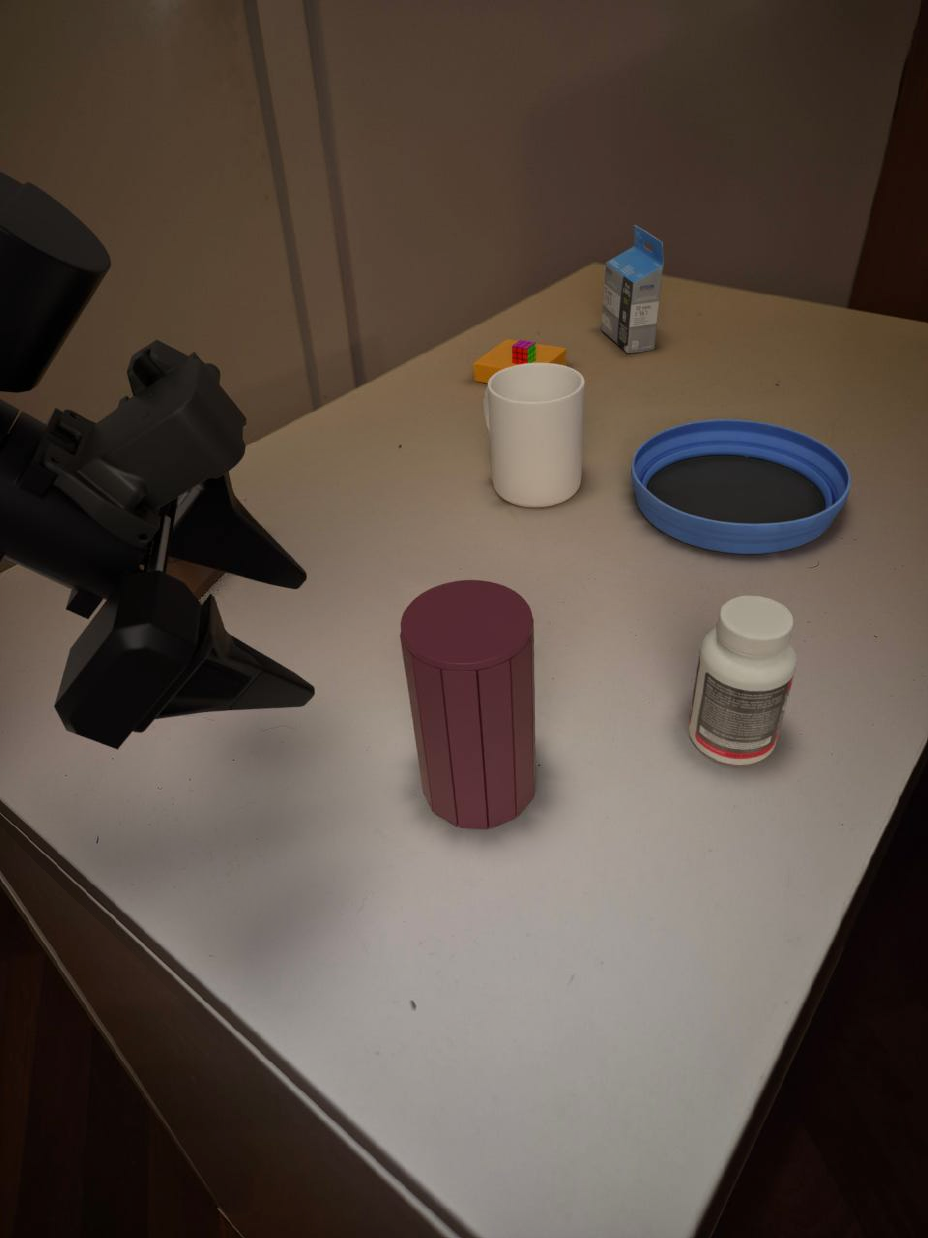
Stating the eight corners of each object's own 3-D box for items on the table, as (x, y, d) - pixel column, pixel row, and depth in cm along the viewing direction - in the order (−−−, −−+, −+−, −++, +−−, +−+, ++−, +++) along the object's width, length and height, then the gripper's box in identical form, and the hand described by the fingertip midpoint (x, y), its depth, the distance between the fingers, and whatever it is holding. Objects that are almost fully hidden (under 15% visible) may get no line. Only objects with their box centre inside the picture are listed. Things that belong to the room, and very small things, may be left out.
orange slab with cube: (473, 381, 97) (471, 345, 94) (507, 356, 102) (506, 321, 99) (534, 392, 93) (534, 356, 91) (566, 366, 99) (567, 330, 96)
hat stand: (192, 605, 67) (171, 542, 63) (92, 586, 70) (66, 524, 66) (257, 538, 74) (241, 477, 70) (164, 522, 77) (143, 464, 73)
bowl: (587, 499, 75) (588, 464, 73) (718, 434, 83) (722, 401, 81) (751, 589, 64) (758, 551, 62) (885, 504, 72) (896, 467, 69)
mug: (454, 468, 81) (446, 366, 75) (523, 442, 85) (521, 342, 78) (526, 520, 73) (524, 411, 67) (600, 490, 76) (604, 383, 70)
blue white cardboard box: (599, 330, 107) (604, 227, 99) (629, 325, 107) (636, 223, 100) (626, 355, 100) (633, 247, 92) (657, 349, 101) (667, 242, 93)
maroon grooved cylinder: (492, 848, 47) (480, 682, 39) (401, 794, 51) (373, 631, 42) (556, 771, 51) (558, 606, 43) (468, 726, 55) (454, 565, 46)
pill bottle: (792, 757, 51) (826, 636, 45) (710, 776, 50) (734, 656, 44) (749, 697, 55) (775, 579, 49) (673, 714, 54) (690, 596, 48)
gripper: (28, 422, 24) (439, 651, 32) (117, 245, 38) (384, 434, 46) (-127, 672, 28) (273, 817, 36) (6, 427, 42) (270, 571, 50)
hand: (306, 634), depth 42 cm, fingers open, 9 cm apart
